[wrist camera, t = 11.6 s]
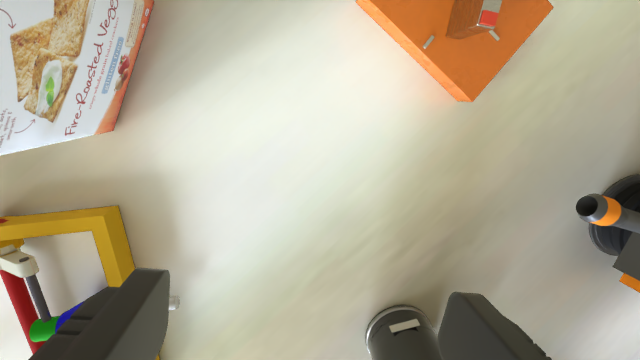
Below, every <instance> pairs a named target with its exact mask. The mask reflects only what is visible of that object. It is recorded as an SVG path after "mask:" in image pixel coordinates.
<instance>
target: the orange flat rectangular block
mask: <svg viewBox="0 0 640 360" xmlns="http://www.w3.org/2000/svg"><path fill="white" fill-rule="evenodd" d="M356 3H357V4H358V5H359V6H360V7H361V8H362V9H363V10H364V11H365V12H366V13H367V14H368V15H369V16H370V17H371V18H373V19H374V20H375V21H376V22H377V23H378V24H379V25H380V26H381V27H382V28H383V29H384V30H385V31H386V32H387V33H388V34H389V35H390V36H391V37H392V38H393V39H394V40H395V41H396V42H397V43H398V44H399V45H400V46H401V47H402V48H403V49H405V50H406V51H407V52H408V53H409V54H410V55H411V56H412V57H413V58H414V59H415V60H416V61H417V62H418V63H419V64H420V65H421V66H422V67H423V68H424V69H425V70H426V71H427V72H428V73H429V74H430V75H431V76H432V77H433V78H434V79H436V80H437V81H438V82H439V83H440V84H441V85H442V86H443V87H444V88H445V89H446V90H447V91H448V92H449V93H450V94H451V95H452V96H453V97H454V98H455V99H456V100H457V101H466V102H473V101H474V99H475V98H476V97H477V96H478V95H479V94H480V93H481V91H482V90H483V89H484V88H485V87H486V86H487V84H488V83H489V82H490V81H491V80H492V79H493V77H494V76H495V75H496V74H497V73H498V72H499V70H500V69H501V68H502V67H503V66H504V65H505V63H506V62H507V61H508V60H509V59H510V58H511V56H512V55H513V54H514V53H515V52H516V51H517V50H518V48H519V47H520V46H521V45H522V44H523V43H524V41H525V40H526V39H527V38H528V37H529V36H530V34H531V33H532V32H533V31H534V30H535V29H536V27H537V26H538V25H539V24H540V23H541V22H542V20H543V19H544V18H545V17H546V16H547V15H548V14H549V12H550V11H551V10H552V9H553V6H552V5H551V4H550V2H549V1H548V0H502V3H501V7H500V10H499V14H498V18H497V21H496V25H495V28H494V29H493V30H490V31H487V32H483V33H480V34H477V35H473V36H470V37H467V38H464V39H460V40H458V39H453V38H449V37H445V36H446V32H447V28H448V24H449V20H450V16H451V12H452V8H453V4H454V0H356Z"/></svg>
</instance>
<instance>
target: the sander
mask: <svg viewBox="0 0 640 360" xmlns="http://www.w3.org/2000/svg"><path fill="white" fill-rule="evenodd" d="M576 210H577V213H578V215H579V217H580V218H581V219H582V220H584V221H586V222H589V232H590V237H591V239H592V242H593V243H594V245H595V246H596V247H597V248H598V249H600V250H601V251H603V252H605V253H607V254H609V255H614V256H618V258H617V260H616V262H615V263H614V265H613V267H614V268H616V269H618V270H620V271H622V272H623V273H624V274H623V275H622V277H621V279H620V282H622V283H624V284H625V285H627V286H629V287H631V288H633V289H634V290H636V291H638V292H640V174H637V175H632V176H628V177H626V178H624V179H621V180H620V181H618V182H616V183H615V184H613V185H612V186H611V187H610V188H609V189H607V190H606V191H605V192H604V194H603V195H599V194H589V195H587V196H585V197H583V198H581V199H580V200H579V201H578V202H577V205H576Z"/></svg>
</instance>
